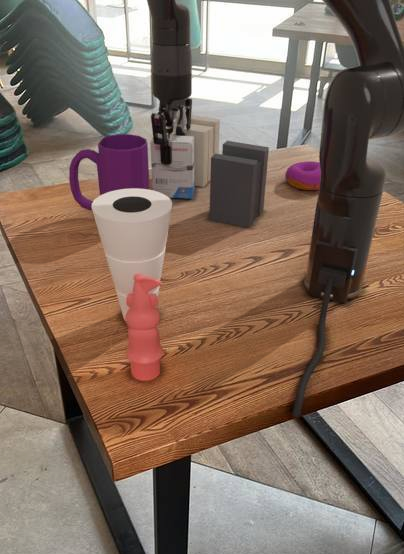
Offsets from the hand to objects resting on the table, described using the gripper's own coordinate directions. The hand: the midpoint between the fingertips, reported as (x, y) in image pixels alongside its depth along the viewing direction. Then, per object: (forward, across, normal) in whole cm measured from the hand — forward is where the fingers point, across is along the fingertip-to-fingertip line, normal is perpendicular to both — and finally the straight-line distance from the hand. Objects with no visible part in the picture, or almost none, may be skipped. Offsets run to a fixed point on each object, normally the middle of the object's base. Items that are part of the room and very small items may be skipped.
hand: (173, 158), depth 118 cm
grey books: (+8, -4, -16) cm, 18 cm away
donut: (+8, +18, -25) cm, 31 cm away
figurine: (+8, -54, -22) cm, 59 cm away
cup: (+8, -44, -15) cm, 47 cm away
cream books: (+8, +10, 0) cm, 13 cm away
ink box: (+8, 0, 0) cm, 8 cm away
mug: (+8, -16, +6) cm, 18 cm away
